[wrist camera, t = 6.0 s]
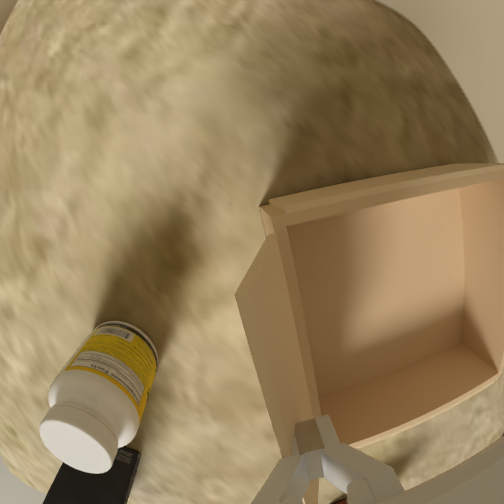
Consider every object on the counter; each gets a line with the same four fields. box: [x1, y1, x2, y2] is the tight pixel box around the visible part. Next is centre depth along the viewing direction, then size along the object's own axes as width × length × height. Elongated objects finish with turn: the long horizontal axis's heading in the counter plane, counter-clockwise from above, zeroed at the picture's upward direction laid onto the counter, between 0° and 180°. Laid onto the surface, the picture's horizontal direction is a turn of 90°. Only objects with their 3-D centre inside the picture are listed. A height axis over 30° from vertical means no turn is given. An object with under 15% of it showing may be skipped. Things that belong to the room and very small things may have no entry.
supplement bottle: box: [39, 321, 158, 474], centre depth 15 cm, size 5×5×10 cm
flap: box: [235, 233, 319, 504], centre depth 11 cm, size 6×14×1 cm
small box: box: [43, 447, 141, 504], centre depth 18 cm, size 11×6×10 cm, turn 158°
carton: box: [259, 163, 504, 449], centre depth 17 cm, size 15×16×6 cm
